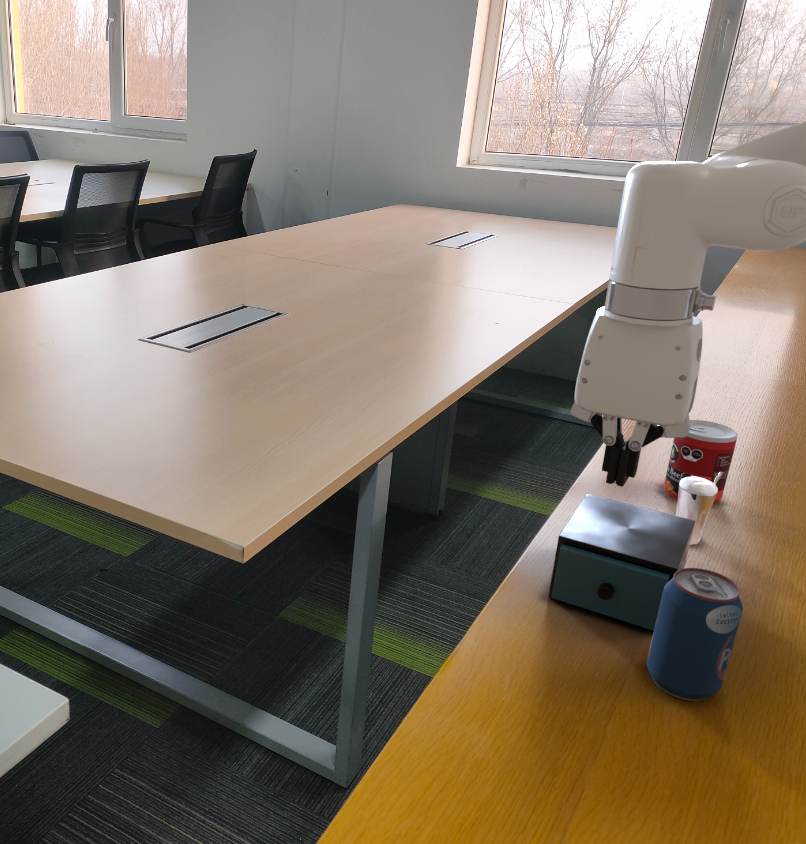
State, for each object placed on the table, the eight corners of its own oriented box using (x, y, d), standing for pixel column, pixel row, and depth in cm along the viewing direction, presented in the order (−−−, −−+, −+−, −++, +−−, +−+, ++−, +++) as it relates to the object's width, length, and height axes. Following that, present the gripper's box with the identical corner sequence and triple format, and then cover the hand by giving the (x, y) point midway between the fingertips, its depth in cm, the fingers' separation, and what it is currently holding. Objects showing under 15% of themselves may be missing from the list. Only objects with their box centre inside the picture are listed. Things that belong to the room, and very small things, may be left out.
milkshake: (717, 545, 109) (734, 479, 105) (681, 548, 108) (697, 481, 104) (694, 529, 113) (710, 465, 109) (660, 532, 112) (674, 467, 109)
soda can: (729, 710, 79) (759, 607, 74) (654, 700, 80) (678, 598, 76) (706, 665, 85) (732, 568, 81) (636, 657, 86) (658, 560, 82)
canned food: (657, 481, 127) (671, 417, 123) (711, 486, 126) (727, 421, 122) (670, 503, 120) (686, 436, 116) (728, 509, 119) (746, 440, 115)
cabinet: (662, 634, 90) (677, 569, 87) (547, 597, 97) (558, 535, 94) (680, 581, 101) (695, 520, 97) (576, 550, 107) (587, 493, 104)
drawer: (653, 637, 88) (666, 584, 86) (548, 602, 94) (557, 552, 92) (674, 581, 99) (685, 533, 96) (578, 553, 105) (586, 507, 102)
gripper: (747, 304, 73) (706, 485, 80) (576, 285, 81) (552, 451, 88) (737, 321, 67) (694, 514, 74) (555, 299, 75) (531, 475, 82)
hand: (617, 479), depth 81 cm, fingers closed
